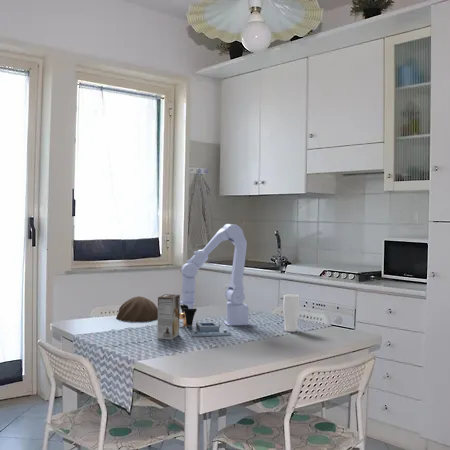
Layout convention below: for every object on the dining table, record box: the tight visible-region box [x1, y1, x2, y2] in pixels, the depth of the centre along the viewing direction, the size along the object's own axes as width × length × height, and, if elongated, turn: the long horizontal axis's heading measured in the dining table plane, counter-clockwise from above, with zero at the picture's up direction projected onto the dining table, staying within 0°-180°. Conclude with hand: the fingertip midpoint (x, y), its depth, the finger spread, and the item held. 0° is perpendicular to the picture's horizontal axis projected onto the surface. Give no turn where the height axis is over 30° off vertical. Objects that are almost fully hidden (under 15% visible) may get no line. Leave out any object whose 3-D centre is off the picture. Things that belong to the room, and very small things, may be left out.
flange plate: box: [184, 321, 232, 337], centre depth 227 cm, size 16×16×3 cm
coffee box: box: [156, 293, 181, 341], centre depth 216 cm, size 9×6×16 cm
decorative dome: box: [115, 296, 158, 323], centre depth 254 cm, size 19×20×10 cm
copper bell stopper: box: [179, 312, 189, 328], centre depth 238 cm, size 6×4×6 cm, turn 103°
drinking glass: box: [282, 293, 301, 333], centre depth 232 cm, size 7×7×15 cm
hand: (187, 322), depth 238 cm, fingers open, 7 cm apart
